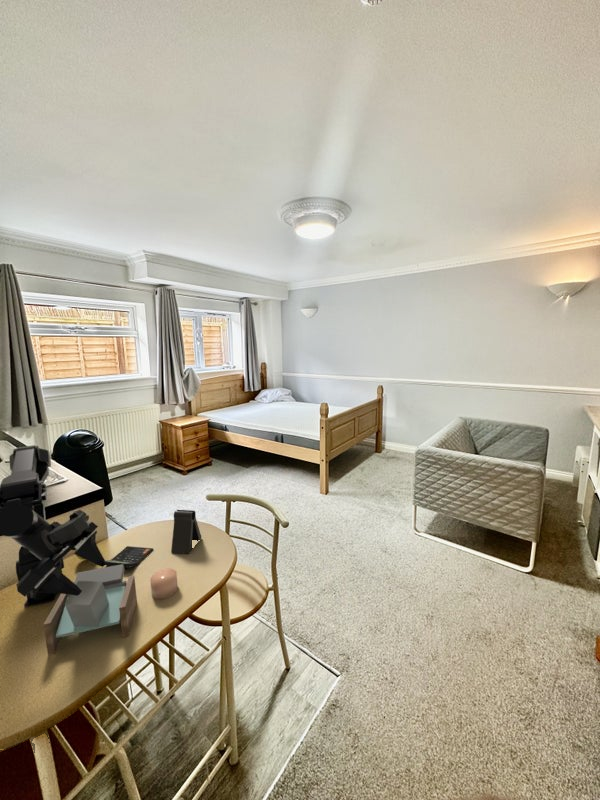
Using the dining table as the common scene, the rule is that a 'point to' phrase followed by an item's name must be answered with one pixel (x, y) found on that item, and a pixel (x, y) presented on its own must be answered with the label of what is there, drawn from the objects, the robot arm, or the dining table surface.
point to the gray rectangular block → (87, 604)
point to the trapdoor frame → (56, 613)
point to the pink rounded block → (164, 583)
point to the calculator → (129, 556)
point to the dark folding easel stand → (184, 531)
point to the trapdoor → (114, 593)
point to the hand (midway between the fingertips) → (93, 578)
